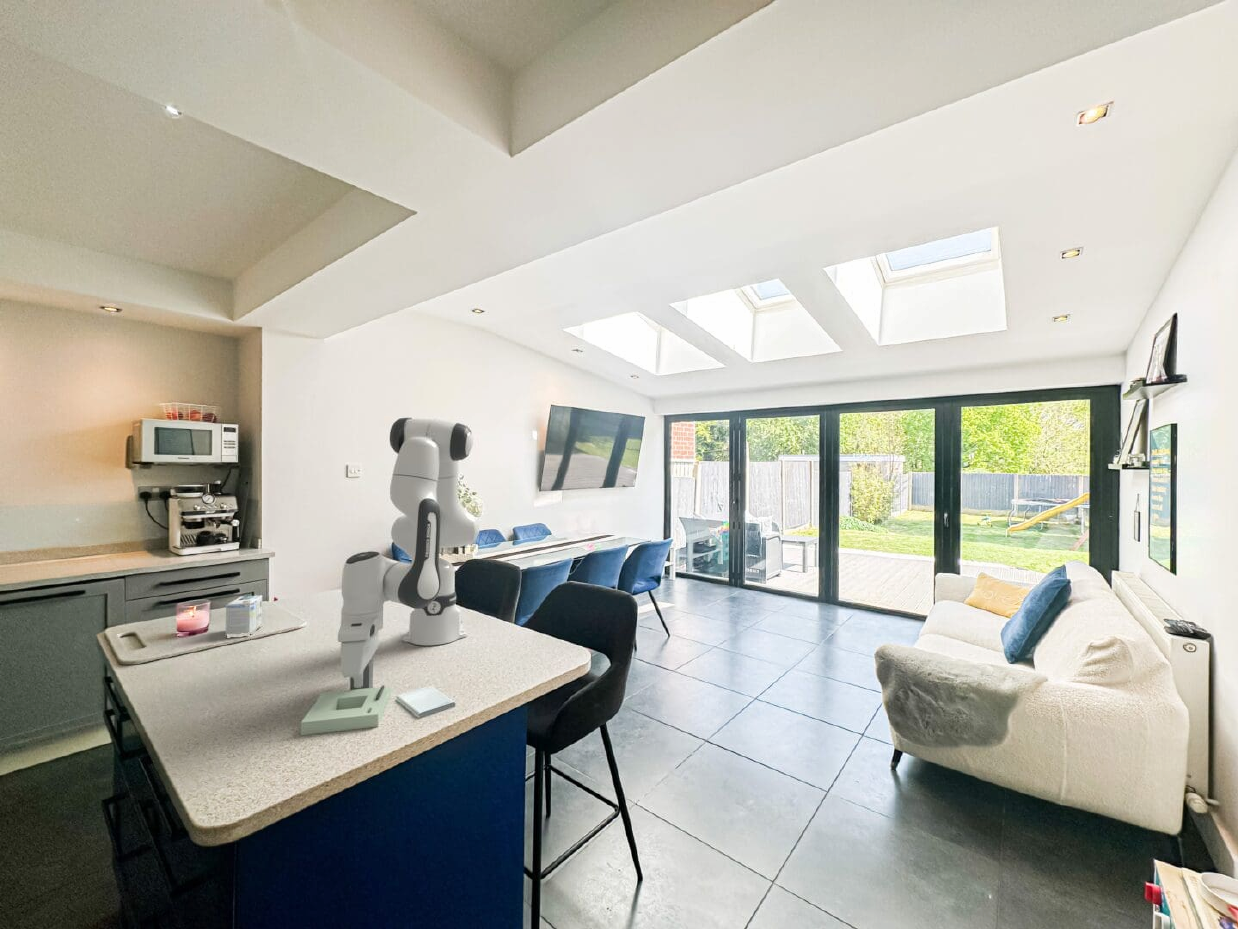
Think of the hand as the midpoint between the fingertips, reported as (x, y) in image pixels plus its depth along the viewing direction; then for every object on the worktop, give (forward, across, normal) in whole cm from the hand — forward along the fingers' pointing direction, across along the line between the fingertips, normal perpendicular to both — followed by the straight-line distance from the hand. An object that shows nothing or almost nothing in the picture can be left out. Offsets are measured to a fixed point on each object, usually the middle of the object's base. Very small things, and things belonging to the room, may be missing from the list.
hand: (361, 681), depth 119 cm
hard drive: (+3, +9, +15) cm, 18 cm away
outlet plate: (+3, +11, 0) cm, 11 cm away
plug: (+3, 0, 0) cm, 3 cm away
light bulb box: (+3, -58, -47) cm, 75 cm away
